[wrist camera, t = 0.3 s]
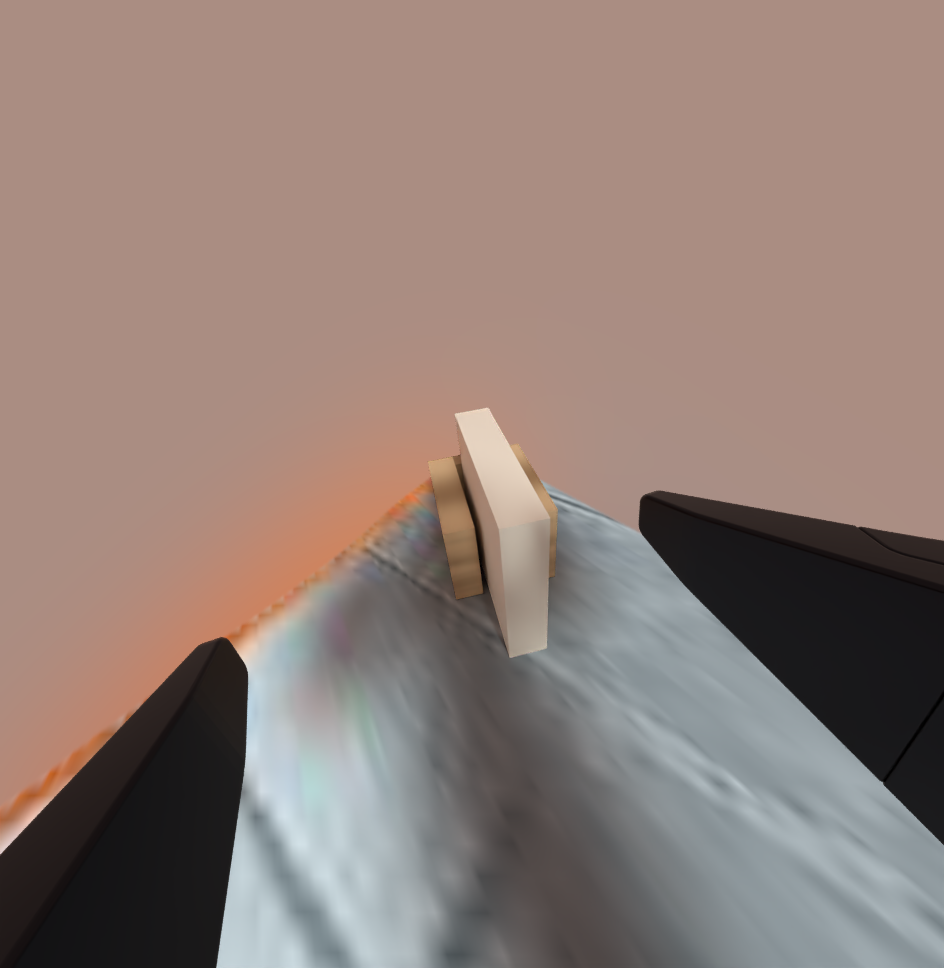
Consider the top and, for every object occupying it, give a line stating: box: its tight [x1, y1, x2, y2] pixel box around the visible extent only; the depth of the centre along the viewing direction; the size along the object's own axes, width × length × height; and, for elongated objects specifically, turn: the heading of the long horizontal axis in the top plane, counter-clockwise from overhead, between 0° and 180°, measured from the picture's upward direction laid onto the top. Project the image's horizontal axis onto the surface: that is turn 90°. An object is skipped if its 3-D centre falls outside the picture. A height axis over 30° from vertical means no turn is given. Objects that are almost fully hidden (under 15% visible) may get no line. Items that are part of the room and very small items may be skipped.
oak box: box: [428, 444, 558, 600], centre depth 29 cm, size 8×7×6 cm
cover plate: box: [455, 408, 550, 658], centre depth 25 cm, size 12×2×11 cm, turn 12°
